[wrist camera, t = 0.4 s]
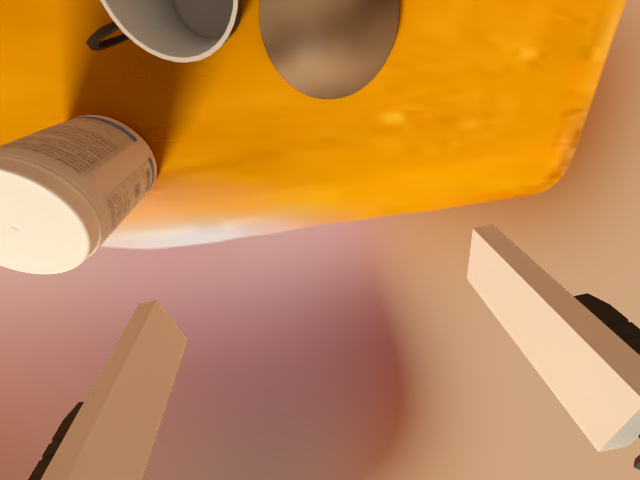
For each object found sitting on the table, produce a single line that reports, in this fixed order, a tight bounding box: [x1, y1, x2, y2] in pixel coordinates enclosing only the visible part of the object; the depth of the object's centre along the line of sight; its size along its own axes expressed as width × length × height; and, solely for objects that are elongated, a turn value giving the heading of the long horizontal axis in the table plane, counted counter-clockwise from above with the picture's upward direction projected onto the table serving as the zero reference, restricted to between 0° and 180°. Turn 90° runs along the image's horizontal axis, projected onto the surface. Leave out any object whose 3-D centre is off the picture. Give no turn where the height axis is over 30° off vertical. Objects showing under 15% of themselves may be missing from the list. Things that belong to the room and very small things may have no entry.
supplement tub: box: [0, 115, 157, 274], centre depth 26 cm, size 10×10×15 cm
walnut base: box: [259, 0, 399, 99], centre depth 27 cm, size 13×13×1 cm
